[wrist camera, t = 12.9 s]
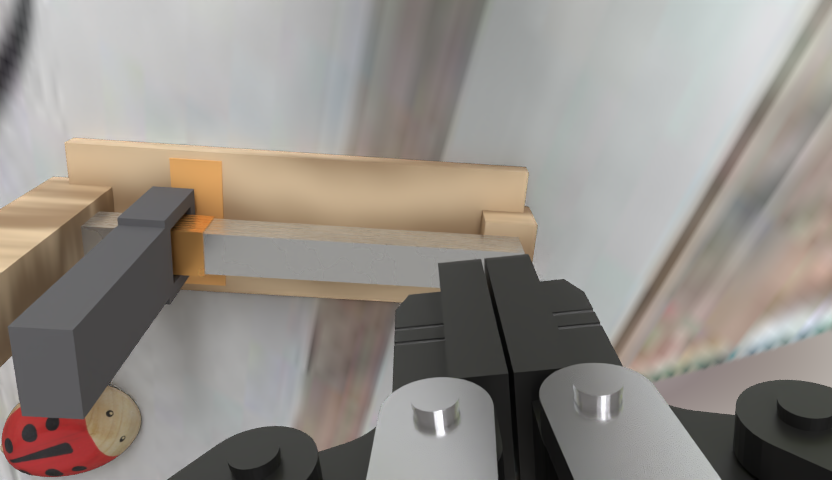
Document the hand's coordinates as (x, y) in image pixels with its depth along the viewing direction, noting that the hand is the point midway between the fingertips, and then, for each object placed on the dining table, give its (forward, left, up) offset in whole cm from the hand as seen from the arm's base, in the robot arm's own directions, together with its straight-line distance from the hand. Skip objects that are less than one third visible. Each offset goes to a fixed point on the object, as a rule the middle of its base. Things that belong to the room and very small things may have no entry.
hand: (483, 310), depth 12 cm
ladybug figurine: (+22, -27, -32) cm, 47 cm away
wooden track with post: (+9, -9, -31) cm, 34 cm away
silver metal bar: (+9, -9, -28) cm, 31 cm away
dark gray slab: (+8, -16, -29) cm, 34 cm away
